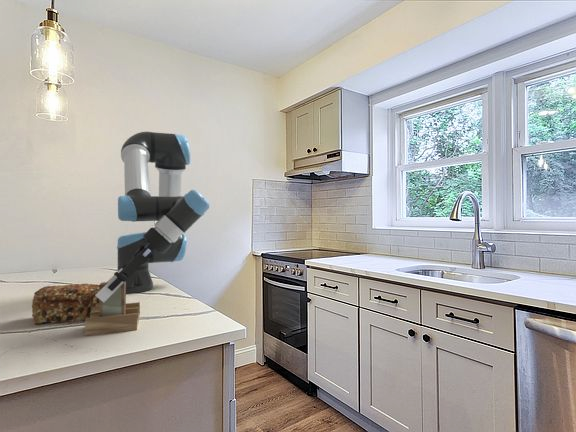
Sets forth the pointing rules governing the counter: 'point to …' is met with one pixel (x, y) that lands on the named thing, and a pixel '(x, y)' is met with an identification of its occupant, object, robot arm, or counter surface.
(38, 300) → the bread
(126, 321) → the divided tray
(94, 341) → the counter surface
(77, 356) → the counter surface
